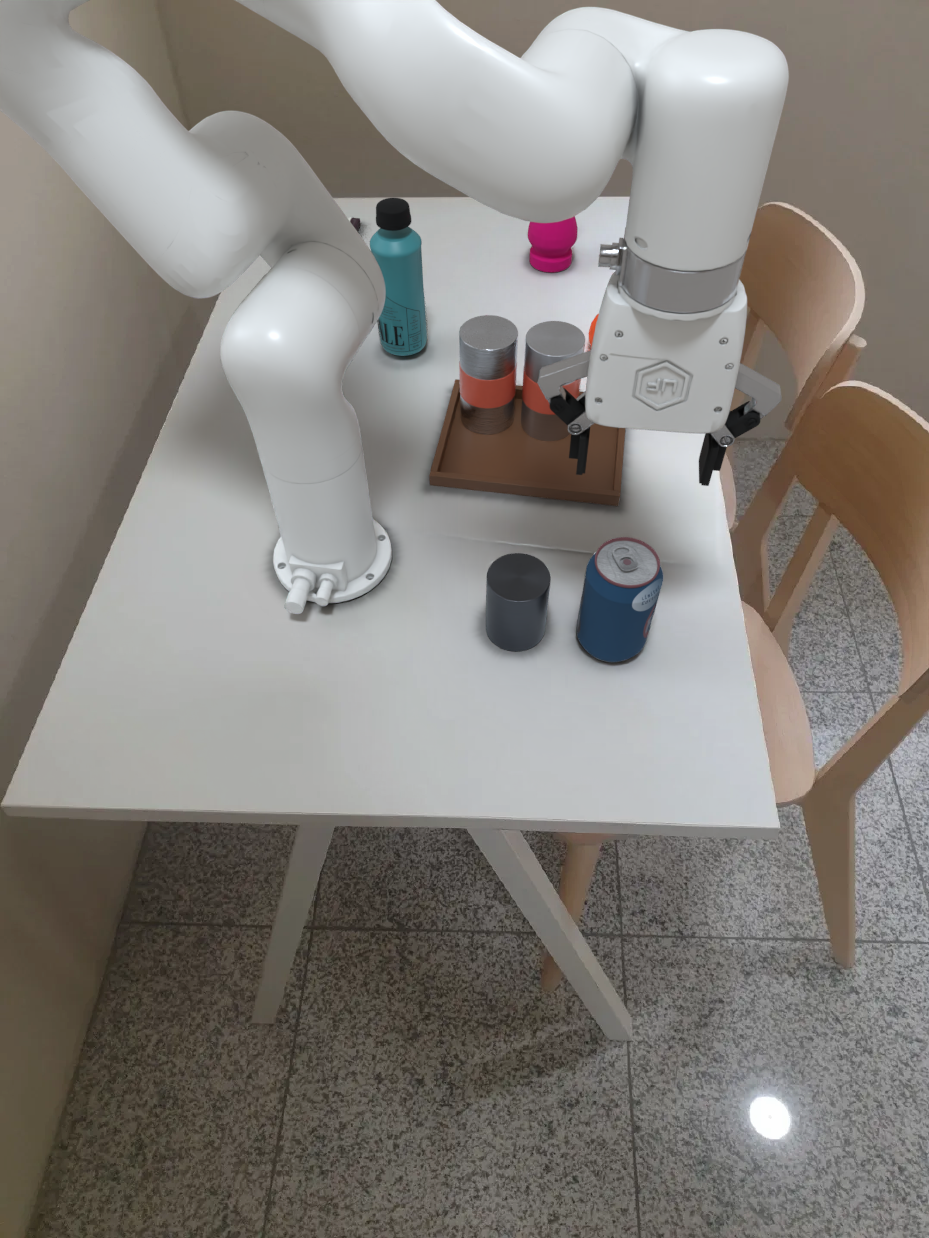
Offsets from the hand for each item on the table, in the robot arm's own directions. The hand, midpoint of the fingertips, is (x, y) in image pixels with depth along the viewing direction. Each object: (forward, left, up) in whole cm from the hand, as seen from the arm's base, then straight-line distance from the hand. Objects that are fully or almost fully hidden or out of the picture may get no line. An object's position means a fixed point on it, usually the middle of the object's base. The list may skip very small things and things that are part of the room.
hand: (641, 468), depth 67 cm
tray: (+26, +11, -22) cm, 35 cm away
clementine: (+45, +2, -22) cm, 50 cm away
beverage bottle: (+42, +30, -22) cm, 56 cm away
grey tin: (-1, +9, -22) cm, 24 cm away
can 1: (+30, +17, -21) cm, 40 cm away
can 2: (+30, +9, -21) cm, 38 cm away
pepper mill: (+67, +13, -22) cm, 71 cm away
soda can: (-1, 0, -22) cm, 22 cm away
